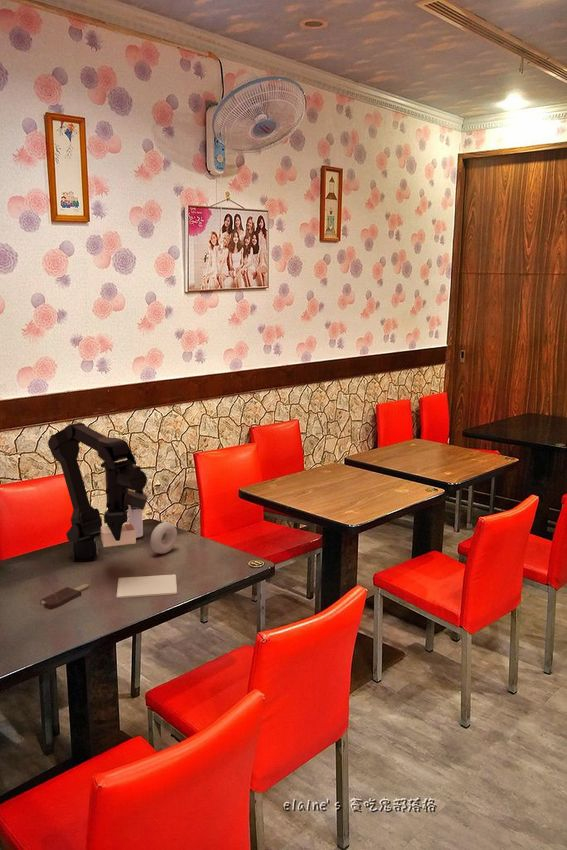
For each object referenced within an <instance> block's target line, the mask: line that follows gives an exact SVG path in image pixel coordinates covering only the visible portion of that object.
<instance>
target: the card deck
mask: <svg viewBox="0 0 567 850" xmlns="http://www.w3.org/2000/svg"><path fill="white" fill-rule="evenodd" d="M100 538H101V543H102V546H103V548H108V547H116V546H123V545H132V544H133V545H134V544H137V538H136V531H135V528H134V526H133V524H132V523H129V522H128V523H124V524H123V525H122V530H121V536H120V540H119V541H116V540H115V538H114V536H113V534H112V532H111V531H110V529H109V527H108V525H102V527H101V533H100Z"/></svg>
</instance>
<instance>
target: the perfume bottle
mask: <svg viewBox="0 0 567 850" xmlns="http://www.w3.org/2000/svg"><path fill="white" fill-rule="evenodd" d="M128 490H130V491H134V490H131V489H128ZM143 492H144V490H143ZM128 506H129V509H128V510H127V512H128V520H127V523H128V524H129V523H132V524H133V526H134V528H135V531H136V539H137V538H141V537H143V536H144V530H143V529H144V527H143V526H144V523H143V521H144V520H143V510H141V509H139V508H137V507H133V506H130V505H128Z"/></svg>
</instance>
